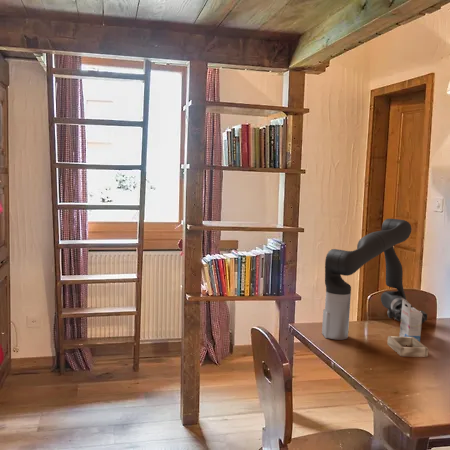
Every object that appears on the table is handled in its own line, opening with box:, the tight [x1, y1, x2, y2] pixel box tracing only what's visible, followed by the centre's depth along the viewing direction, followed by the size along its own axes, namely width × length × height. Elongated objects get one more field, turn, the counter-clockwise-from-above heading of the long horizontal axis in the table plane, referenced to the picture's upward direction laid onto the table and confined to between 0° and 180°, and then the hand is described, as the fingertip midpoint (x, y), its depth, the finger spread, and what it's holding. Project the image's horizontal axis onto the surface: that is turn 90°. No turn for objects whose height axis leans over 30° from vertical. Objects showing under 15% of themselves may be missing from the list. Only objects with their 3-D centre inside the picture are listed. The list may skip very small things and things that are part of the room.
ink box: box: [399, 300, 423, 343], centre depth 191 cm, size 8×5×15 cm, turn 2°
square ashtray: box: [386, 335, 429, 358], centre depth 180 cm, size 10×12×3 cm
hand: (411, 319), depth 191 cm, fingers open, 8 cm apart
